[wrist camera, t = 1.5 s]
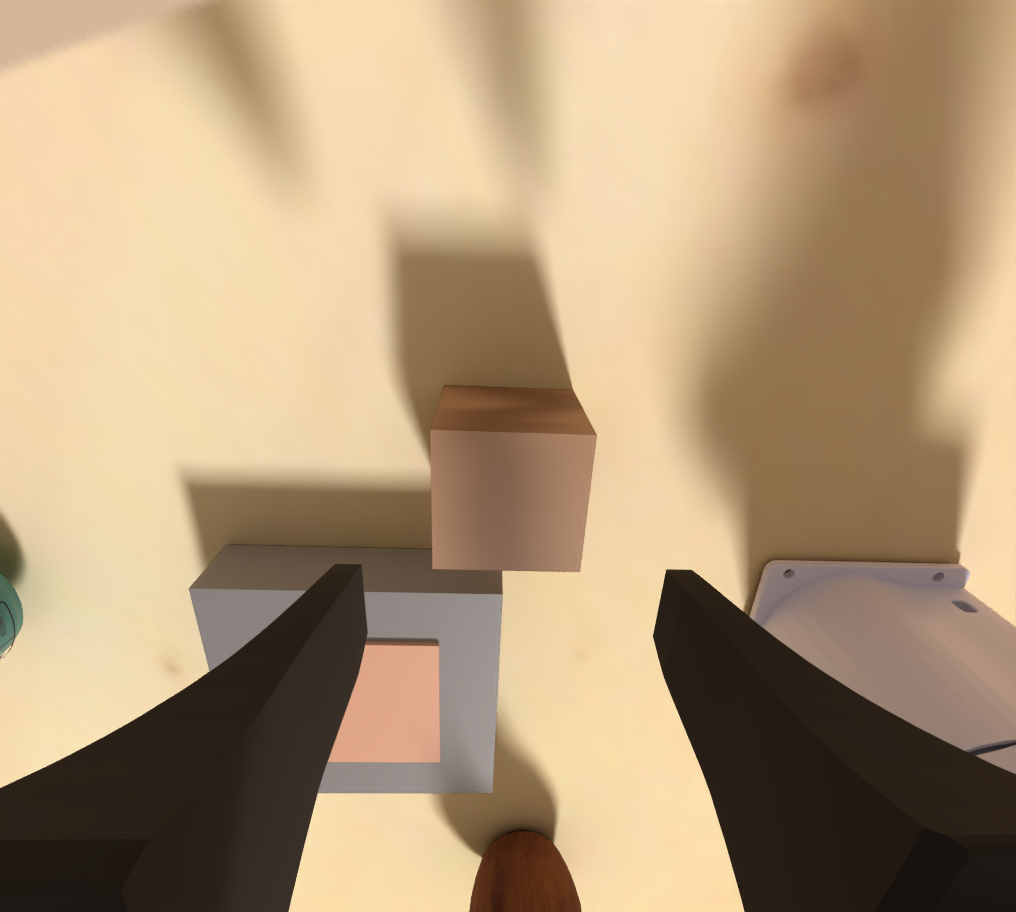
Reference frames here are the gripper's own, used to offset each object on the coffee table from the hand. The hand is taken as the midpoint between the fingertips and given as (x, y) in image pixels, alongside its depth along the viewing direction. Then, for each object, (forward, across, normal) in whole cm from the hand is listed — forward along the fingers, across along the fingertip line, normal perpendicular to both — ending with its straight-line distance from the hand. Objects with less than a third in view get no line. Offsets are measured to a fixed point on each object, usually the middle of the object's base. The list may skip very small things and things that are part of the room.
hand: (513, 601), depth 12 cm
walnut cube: (+10, 0, 0) cm, 10 cm away
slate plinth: (+9, +6, +11) cm, 16 cm away
